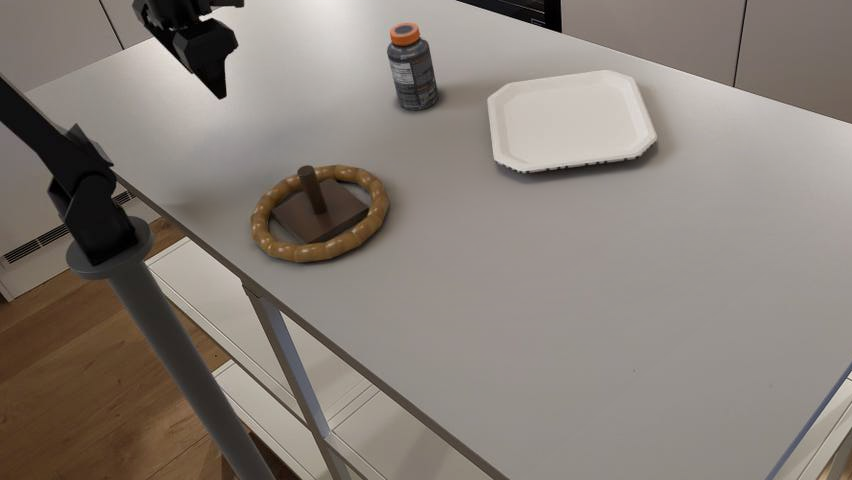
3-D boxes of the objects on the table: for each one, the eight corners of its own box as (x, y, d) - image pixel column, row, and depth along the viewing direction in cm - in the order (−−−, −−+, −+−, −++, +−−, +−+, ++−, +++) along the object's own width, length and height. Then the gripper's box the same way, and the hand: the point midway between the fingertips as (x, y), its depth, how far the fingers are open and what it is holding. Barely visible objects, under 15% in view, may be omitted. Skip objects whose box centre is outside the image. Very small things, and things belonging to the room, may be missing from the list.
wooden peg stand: (308, 251, 90) (290, 205, 85) (273, 217, 95) (254, 172, 90) (370, 214, 93) (357, 168, 88) (333, 184, 99) (318, 138, 94)
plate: (487, 98, 109) (485, 85, 107) (630, 79, 108) (630, 65, 107) (497, 187, 94) (495, 173, 93) (663, 165, 93) (664, 151, 92)
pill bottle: (432, 85, 113) (419, 13, 105) (443, 104, 109) (430, 32, 101) (394, 95, 113) (378, 24, 105) (403, 115, 108) (387, 43, 100)
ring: (301, 287, 86) (296, 275, 84) (229, 221, 96) (223, 209, 94) (417, 212, 93) (414, 199, 91) (338, 158, 103) (335, 146, 101)
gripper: (256, -39, 83) (296, 85, 94) (192, -77, 95) (235, 37, 106) (161, -3, 79) (215, 123, 90) (106, -47, 91) (160, 69, 102)
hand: (208, 84), depth 97 cm, fingers open, 9 cm apart
